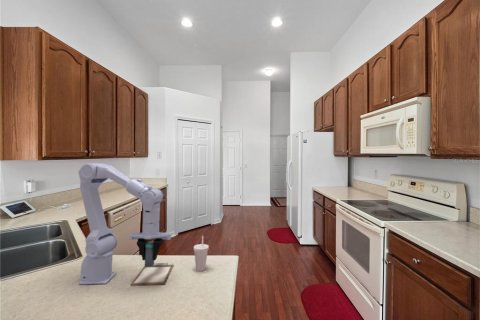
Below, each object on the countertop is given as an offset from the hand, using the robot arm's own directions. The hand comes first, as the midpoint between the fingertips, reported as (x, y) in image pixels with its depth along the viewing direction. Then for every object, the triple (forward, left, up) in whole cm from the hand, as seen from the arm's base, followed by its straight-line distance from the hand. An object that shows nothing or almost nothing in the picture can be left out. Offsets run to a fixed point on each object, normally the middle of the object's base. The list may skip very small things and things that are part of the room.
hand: (149, 259), depth 81 cm
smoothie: (+18, +11, -9) cm, 23 cm away
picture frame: (0, +7, -9) cm, 12 cm away
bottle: (0, 0, -2) cm, 2 cm away
